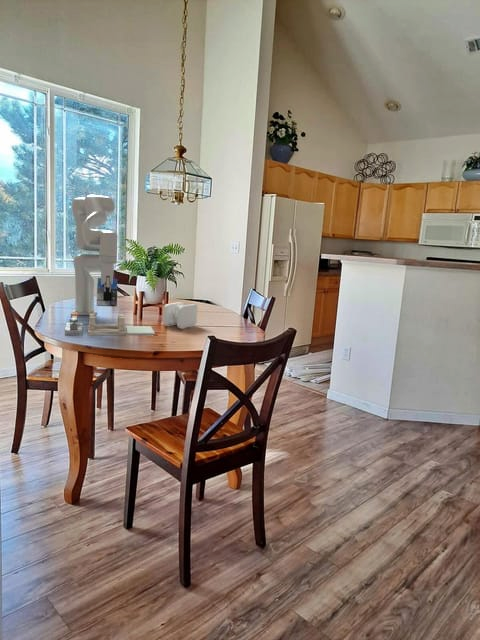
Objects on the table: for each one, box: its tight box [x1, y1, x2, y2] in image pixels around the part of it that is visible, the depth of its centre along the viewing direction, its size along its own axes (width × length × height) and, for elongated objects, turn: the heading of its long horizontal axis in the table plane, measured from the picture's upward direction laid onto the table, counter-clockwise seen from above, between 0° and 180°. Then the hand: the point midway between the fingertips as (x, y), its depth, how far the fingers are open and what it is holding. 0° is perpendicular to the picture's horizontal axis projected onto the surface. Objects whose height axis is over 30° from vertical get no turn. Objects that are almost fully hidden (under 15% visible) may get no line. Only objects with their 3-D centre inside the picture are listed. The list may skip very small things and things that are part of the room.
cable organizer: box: [162, 301, 198, 330], centre depth 227 cm, size 15×11×12 cm
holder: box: [87, 314, 127, 336], centre depth 206 cm, size 16×16×7 cm
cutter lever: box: [69, 311, 80, 324], centre depth 203 cm, size 15×3×4 cm, turn 18°
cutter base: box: [64, 322, 84, 336], centre depth 202 cm, size 15×7×4 cm, turn 18°
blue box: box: [96, 277, 118, 308], centre depth 204 cm, size 9×4×12 cm, turn 106°
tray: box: [125, 325, 156, 336], centre depth 211 cm, size 14×12×1 cm
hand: (106, 299), depth 204 cm, fingers closed on blue box, 4 cm apart
